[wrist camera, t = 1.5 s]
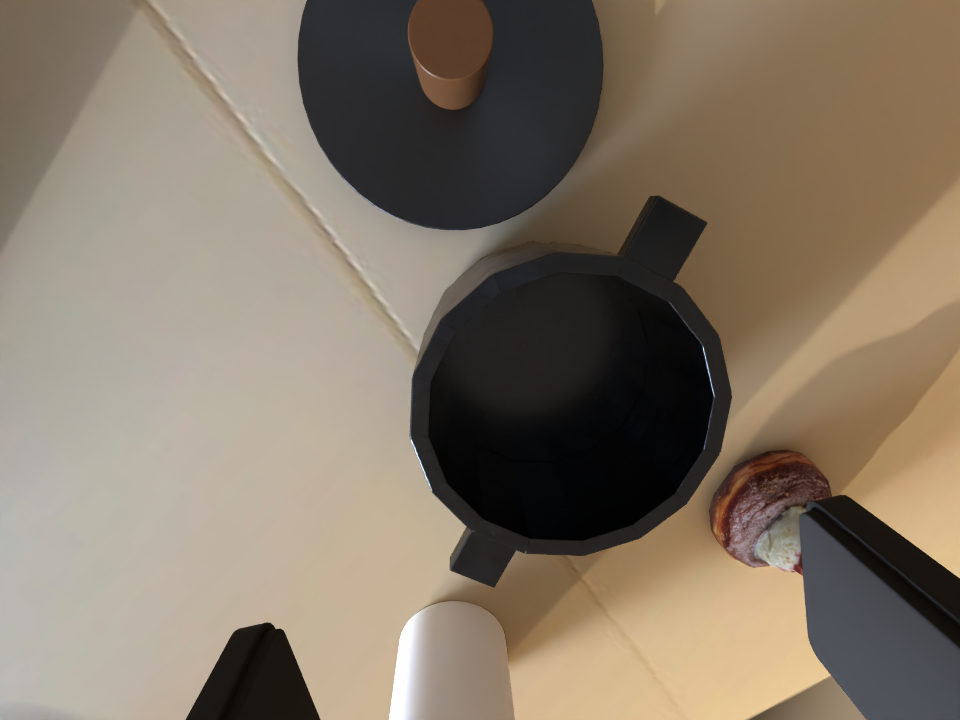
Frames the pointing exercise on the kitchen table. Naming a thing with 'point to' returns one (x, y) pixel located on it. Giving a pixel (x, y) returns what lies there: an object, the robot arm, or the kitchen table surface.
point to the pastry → (766, 509)
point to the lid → (451, 101)
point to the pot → (569, 395)
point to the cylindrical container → (452, 666)
